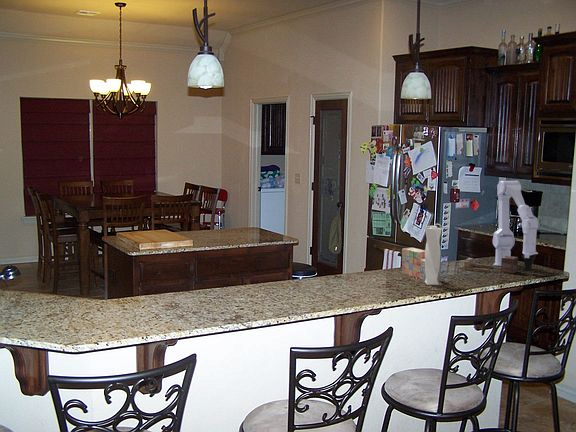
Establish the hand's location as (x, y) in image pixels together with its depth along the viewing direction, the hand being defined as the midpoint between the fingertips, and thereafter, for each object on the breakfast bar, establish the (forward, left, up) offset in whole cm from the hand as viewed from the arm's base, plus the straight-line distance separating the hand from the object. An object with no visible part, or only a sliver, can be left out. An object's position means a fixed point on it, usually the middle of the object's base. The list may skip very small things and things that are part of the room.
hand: (528, 270), depth 313 cm
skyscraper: (+44, -35, -2) cm, 56 cm away
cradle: (0, -23, -2) cm, 23 cm away
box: (0, -9, -2) cm, 9 cm away
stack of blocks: (+32, -44, -2) cm, 55 cm away
